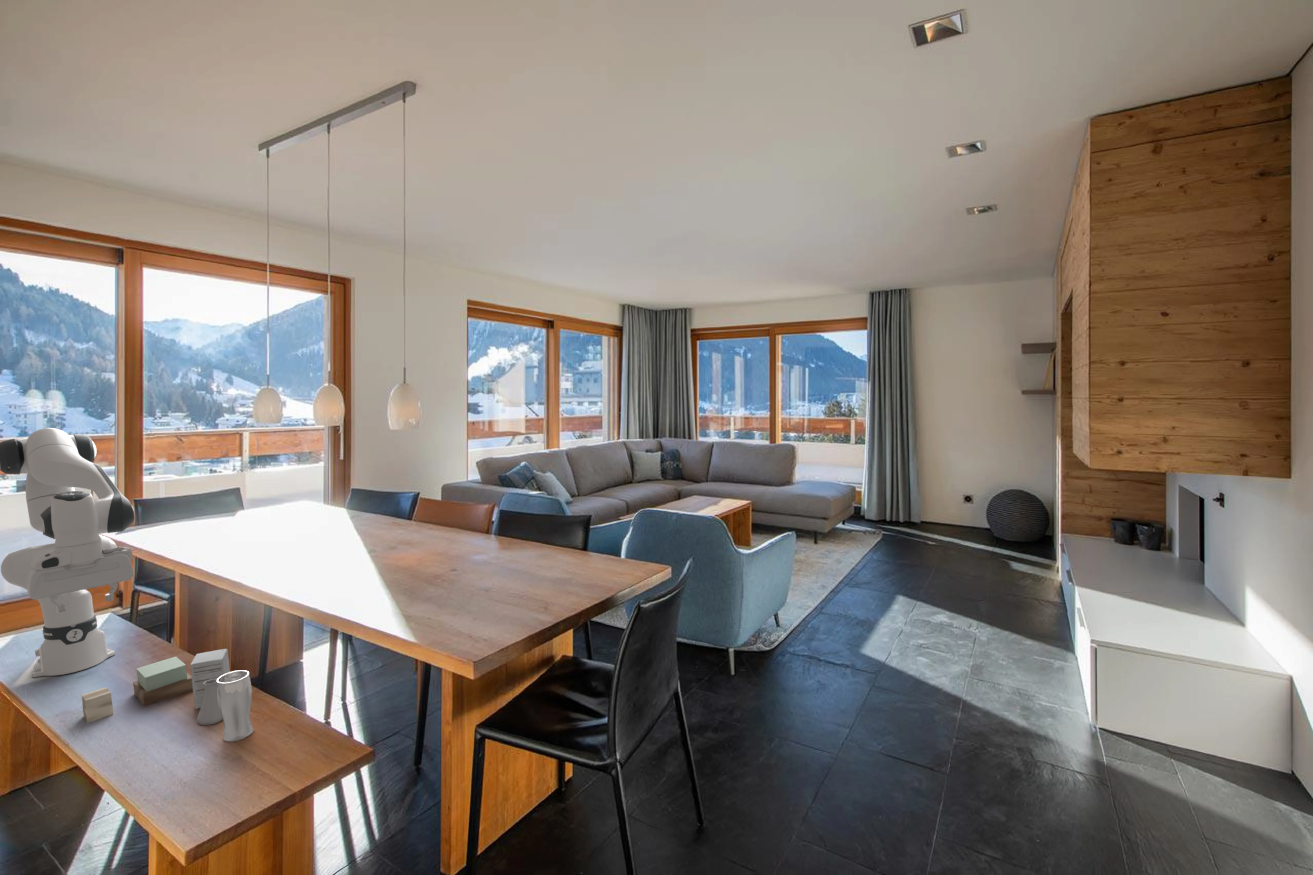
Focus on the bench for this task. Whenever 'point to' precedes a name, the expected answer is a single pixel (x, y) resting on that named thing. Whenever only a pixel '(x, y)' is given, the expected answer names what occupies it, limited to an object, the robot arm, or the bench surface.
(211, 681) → the flask
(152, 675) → the tower top block
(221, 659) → the supplement box
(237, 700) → the beer glass
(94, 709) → the birch block
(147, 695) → the tower base slab
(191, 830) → the bench surface
